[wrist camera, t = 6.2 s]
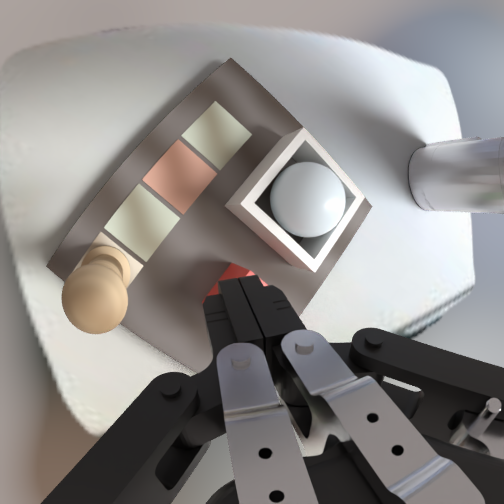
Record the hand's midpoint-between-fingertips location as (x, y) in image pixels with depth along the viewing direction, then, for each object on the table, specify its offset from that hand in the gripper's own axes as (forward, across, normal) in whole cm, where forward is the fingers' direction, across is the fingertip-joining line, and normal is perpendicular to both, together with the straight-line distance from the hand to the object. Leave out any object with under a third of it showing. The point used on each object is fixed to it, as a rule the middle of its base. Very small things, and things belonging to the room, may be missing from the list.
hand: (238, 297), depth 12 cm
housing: (+17, +8, -2) cm, 19 cm away
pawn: (+13, -9, -4) cm, 16 cm away
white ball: (+17, +8, -2) cm, 19 cm away
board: (+17, +2, -4) cm, 18 cm away
